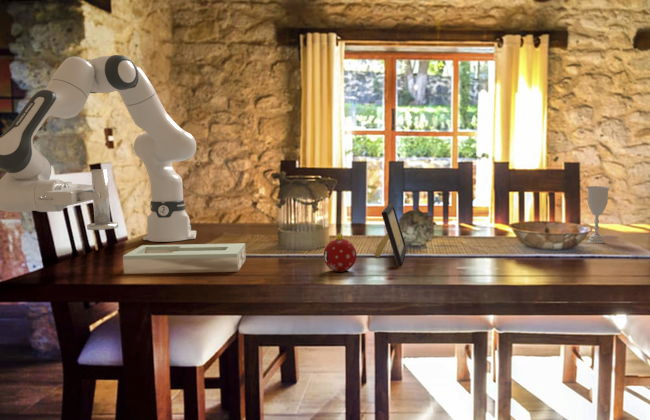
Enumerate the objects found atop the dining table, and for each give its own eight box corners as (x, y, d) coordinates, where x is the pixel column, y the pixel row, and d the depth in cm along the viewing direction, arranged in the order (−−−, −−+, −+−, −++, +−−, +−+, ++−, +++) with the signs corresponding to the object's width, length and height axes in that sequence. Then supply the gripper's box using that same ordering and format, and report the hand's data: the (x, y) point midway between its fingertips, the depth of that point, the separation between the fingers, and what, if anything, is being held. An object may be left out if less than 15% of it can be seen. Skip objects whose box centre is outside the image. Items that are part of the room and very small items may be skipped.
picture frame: (402, 265, 150) (395, 210, 149) (369, 268, 152) (362, 214, 151) (406, 249, 173) (401, 202, 172) (378, 252, 175) (372, 205, 174)
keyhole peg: (94, 225, 157) (90, 169, 155) (122, 225, 157) (119, 168, 155) (82, 230, 149) (78, 170, 147) (112, 229, 149) (108, 170, 147)
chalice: (612, 243, 177) (614, 187, 175) (590, 244, 178) (592, 188, 176) (601, 240, 185) (603, 186, 183) (580, 240, 185) (582, 186, 183)
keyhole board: (143, 261, 162) (142, 245, 161) (245, 259, 162) (245, 243, 162) (123, 273, 146) (122, 255, 146) (237, 271, 146) (237, 253, 146)
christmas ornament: (362, 272, 143) (362, 234, 142) (333, 276, 139) (332, 237, 138) (346, 266, 150) (346, 230, 149) (318, 270, 147) (317, 232, 145)
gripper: (33, 187, 141) (87, 186, 141) (69, 181, 161) (116, 180, 161) (34, 211, 142) (89, 210, 142) (70, 203, 162) (117, 202, 162)
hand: (104, 194), depth 152 cm, fingers closed on keyhole peg, 4 cm apart
